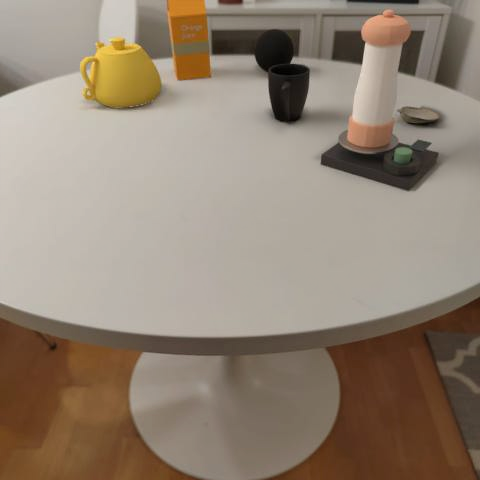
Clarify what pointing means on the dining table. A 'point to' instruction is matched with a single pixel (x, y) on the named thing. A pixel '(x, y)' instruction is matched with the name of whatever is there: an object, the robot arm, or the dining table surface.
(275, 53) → the decorative ball
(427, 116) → the seashell
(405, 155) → the tare button
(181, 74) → the orange juice
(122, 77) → the teapot
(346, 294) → the dining table surface
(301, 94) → the mug
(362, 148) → the scale pan
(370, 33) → the salt shaker
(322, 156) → the scale
